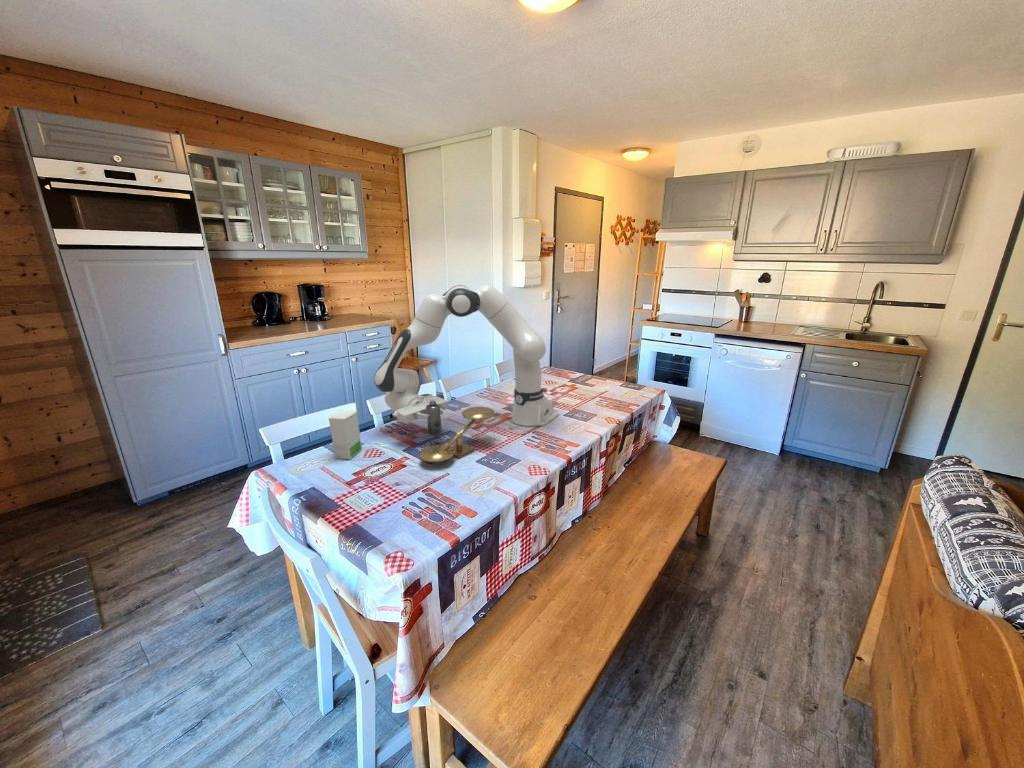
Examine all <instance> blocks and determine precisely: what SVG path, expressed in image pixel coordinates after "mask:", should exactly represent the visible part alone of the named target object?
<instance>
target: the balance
mask: <svg viewBox="0 0 1024 768" xmlns="http://www.w3.org/2000/svg"><path fill="white" fill-rule="evenodd" d="M461 414H462V417H463V418H465V419H467V420H469V422H468V423H467V424H466V425H465V426H464V427H463V428H462V429H461V430H460V431H459V432H456V433H455V436H453V438H452V439H451V440H450V441H449V442H447V443H446V444H434V445H430V446H426V447H424V448H422V449H421V450H420V451H419V453H418V457H419V459H420V460H422V461H424V462H427V463H440V462H444V461H447V460H450V459H451V458H452V457H453V458H455V459H457V460H459V459H462V458H464V457H466V456H468V455H470V453H471V454H472V452H473V453H475V452H474V451H476V449H475V448H474V447H472V446H470V445H468V444H466V443H464V442H463V441H462V436H463V435H464V434H465V433H466V432H467V431H468V430H469V428H471V427H472V426H473V425H474V424H475V423H476V422H478V421H481V420H482V421H483V420H488V419H491V418H492V417H493V416H494V415H495V410H494V409H492V408H491V407H486V406H473V407H468V408H466V409H464V410H463V411H462V412H461ZM454 443H455V444H454Z"/></svg>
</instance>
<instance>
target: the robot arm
mask: <svg viewBox="0 0 1024 768" xmlns="http://www.w3.org/2000/svg"><path fill="white" fill-rule="evenodd" d="M476 312H479V313H480V314H481V315H483V316H484V318H485V319H486V320H487V321H488V322H489V323H490V324H491V326H493V328H494V329H495V330H496V331H497V333H499V334H500V335H501V336H502V337H503V338H504V339H505V341H506V342H507V343H508V344H509V345H510V346H511V347H512V355H513V364H514V380H515V381H514V386H515V387H514V390H513V397H514V398H513V403H512V404H513V405H512V412H511V413H510V414H511V422H512V423H514V424H516V425H519V426H525V427H532V426H539V427H541V426H543V427H544V426H546V425H547V424H549V423H550V422H552V421H553V420H554V419H555V418H557V417H558V416H559V415H560V414H559V412H558V411H557V410H555V409H554V403H553V402H552V401H551V400H550V399H549V398H547V397H546V396H545V395H544V393H545V394H547V392H548V388H547V387H542V368H541V363H540V360H542V359H543V358H544V357H545V354H546V352H547V348H546V343H545V341H544V339H543V338H542V337H541V336H540V334H539V333H538V332H537V331H536V330H535V329H534V328H533V327H532V326H531V325H530V324H529V322H528V321H527V320H526V319H525V318H524V317H523V316H522V315H521V314H520V313H519V312H518V311H517V310H516V308H515V307H514V306H513V304H511V303H510V301H509V300H508V299H507V298H506V297H505V296H504V295H503V294H502V293H501V292H500V291H499V290H498V289H497V288H496V287H494V286H493V285H491V284H490V283H489V284H488V283H487V284H483V285H481V286H479V287H477V289H475V290H472V289H470V287H469V288H468V287H467V286H466V285H463V284H462V285H461V284H458V285H455V286H453V287H450V288H449V289H448V290H447V291H446V292H445V293H443V294H442V295H439V294H437V293H429V294H427V295H426V296H425V297H424V299H423V300H422V301H421V304H420V305H419V307H418V310H417V312H416V314H415V317H414V319H413V320H412V322H411V323H410V325H409V326H408V327H406V328H405V329H403V330H402V331H401V332H400V333H399V334H398V336H397V337H396V339H395V341H394V343H393V344H392V345H391V346H392V347H391V348H390V349H389V352H388V353H387V355H386V357H385V359H383V362H382V363H381V365H380V366H379V367H378V368H377V369H376V371H375V374H374V376H373V382H374V385H375V386H376V388H377V389H378V391H380V392H382V393H385V395H384V402H385V404H386V405H387V407H389V408H390V409H391V410H393V411H394V412H392V416H393V417H395V418H397V420H398V421H399V422H401V423H402V424H410V423H412V422H415V421H417V420H426V421H427V419H430V417H429V414H427V412H426V406H427V405H428V404H429V402H430V401H436V404H439V405H440V415H443V414H444V411H445V410H447V409H448V402H447V400H446V399H444V398H442V397H440V396H433V394H432V393H425V394H419V391H420V388H421V385H422V384H421V383H422V382H421V381H422V380H421V376H420V373H418V371H416V370H415V369H411V368H410V369H409V368H401V367H399V366H400V363H401V361H402V360H403V358H404V356H405V355H406V353H407V352H408V351H409V350H411V349H413V348H416V347H419V346H426V345H429V344H432V343H434V342H435V341H436V340H437V339H438V337H439V336H440V335H441V334H440V333H441V332H442V329H443V327H444V324H445V321H446V320H447V318H448V316H450V315H453V316H456V317H460V318H462V317H467V316H470V315H471V314H473V313H476Z"/></svg>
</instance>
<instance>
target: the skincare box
mask: <svg viewBox="0 0 1024 768" xmlns="http://www.w3.org/2000/svg"><path fill="white" fill-rule="evenodd" d="M328 422H329V429H330V434H331V441H332V447H333V455H334V459H339V460H351V459H353V458H352V457H355V456H356V455H358V454H359V453H360V452H362V451H361V450H363V448H362V441H361V433H360V424H359V418H358V411H356V410H341V411H339V412H337V413H334V414H333V415H331V416H330V417H328ZM357 453H358V454H357Z"/></svg>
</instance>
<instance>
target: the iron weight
mask: <svg viewBox="0 0 1024 768" xmlns="http://www.w3.org/2000/svg"><path fill="white" fill-rule="evenodd" d="M426 412H427V414H429V417H430V419H427V420H426V422H427V432H428V436H431V437H436V436H440V435H441V434H443V429H442V428H443V427H442V418H441V417H442V416H441V415H442V414H441V415H440V405H439V404H436V401H430V402H429V404H428V405H427V406H426Z"/></svg>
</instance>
